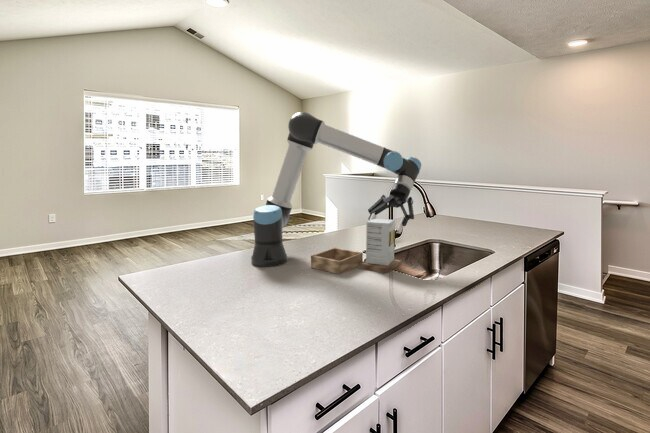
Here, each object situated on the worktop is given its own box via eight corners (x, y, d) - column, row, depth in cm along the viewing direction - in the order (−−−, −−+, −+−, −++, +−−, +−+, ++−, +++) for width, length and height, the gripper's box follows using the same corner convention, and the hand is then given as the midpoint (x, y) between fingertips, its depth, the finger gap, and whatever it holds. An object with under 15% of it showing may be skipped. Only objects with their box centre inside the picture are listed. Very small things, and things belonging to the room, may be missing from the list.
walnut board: (359, 267, 153) (359, 263, 152) (376, 260, 163) (376, 255, 162) (385, 273, 145) (385, 268, 145) (401, 265, 155) (401, 260, 155)
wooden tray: (311, 267, 153) (310, 255, 153) (335, 258, 166) (334, 247, 165) (339, 274, 145) (339, 261, 144) (362, 264, 157) (362, 252, 156)
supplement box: (388, 266, 148) (388, 223, 145) (365, 263, 152) (365, 221, 149) (394, 259, 156) (395, 219, 154) (373, 257, 160) (373, 217, 157)
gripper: (432, 196, 155) (414, 239, 147) (379, 192, 171) (360, 230, 162) (427, 184, 151) (408, 227, 142) (373, 181, 166) (353, 220, 157)
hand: (383, 229), depth 152 cm, fingers open, 13 cm apart
